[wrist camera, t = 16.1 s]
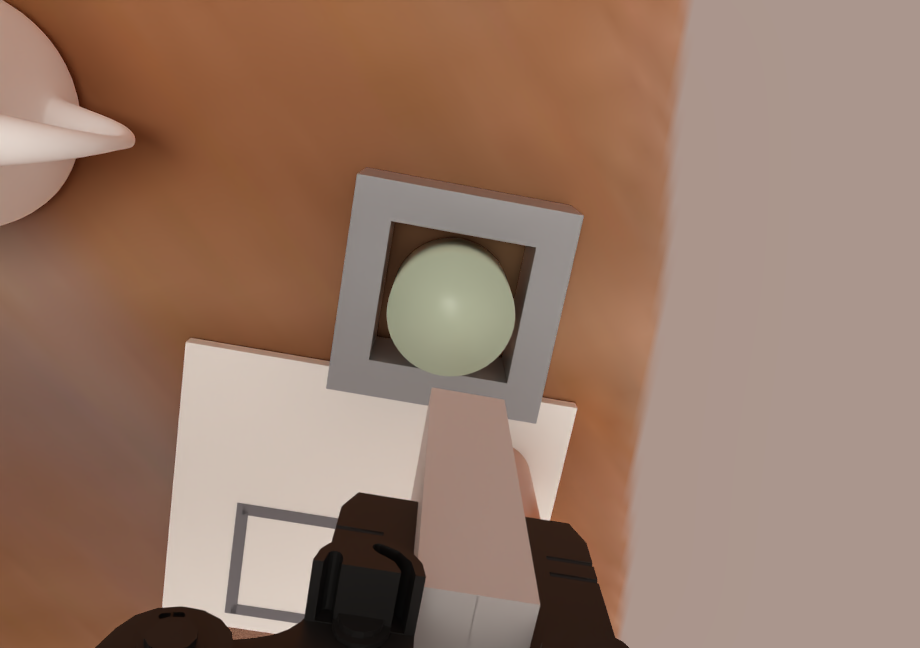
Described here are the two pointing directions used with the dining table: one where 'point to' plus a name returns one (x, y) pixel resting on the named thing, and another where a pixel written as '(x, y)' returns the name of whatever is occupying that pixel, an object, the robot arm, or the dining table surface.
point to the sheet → (293, 475)
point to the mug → (41, 119)
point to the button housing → (465, 212)
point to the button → (450, 307)
